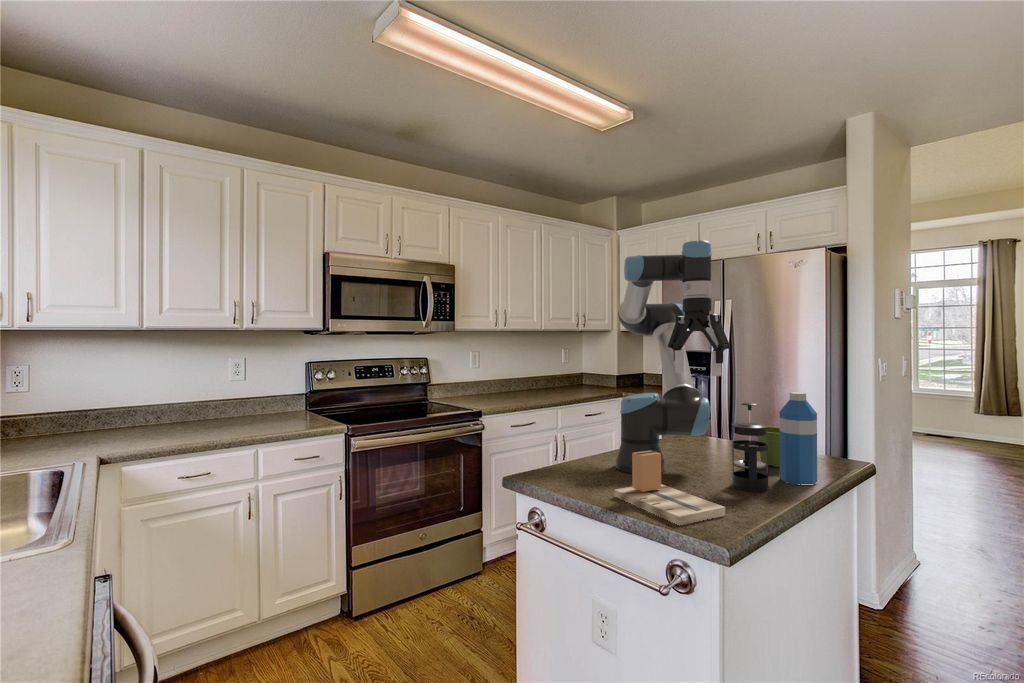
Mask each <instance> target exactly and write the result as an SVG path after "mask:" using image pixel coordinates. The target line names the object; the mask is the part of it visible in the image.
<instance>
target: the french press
mask: <svg viewBox="0 0 1024 683" xmlns="http://www.w3.org/2000/svg"><path fill="white" fill-rule="evenodd" d="M741 405H742V406H747V411H748V422H735V423H732V424H731V426H732V427H733V433H734V434H736V435H740V436H748V439H737V440H733V441H731V449H732V451H731V454H732V455H731V461H732V462H731V463H732V464H731V470H732V472H731V473H732V476H731V477H732V481H731V487H732V488H734V489H737V490H739V491H745V492H751V493H763V492H768V491H769V490H770V486H769V466H768V444H767V443H764V442H760V441H758V440H751V439H752V438H751V437H757V436H763V435H766V429H767V428H768V427H769V426H768V425H766V424H761V423H755V422H751V411H752V406H753V407H754V406H759V404H758V403H756V402H742V403H741ZM734 449H735V450H739V451H744V458H743V459H739V460H737V459H736V460H735V459H734V457H735V456H734V455H735V454H734ZM760 451H766V464H765V463H763V462H761V461H758V452H759V453H760ZM734 467H737V468H740V469H744V470H736V471H735V470H734ZM765 469H766V474H765V473H763V472H758V470H765Z"/></svg>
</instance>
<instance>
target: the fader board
mask: <svg viewBox="0 0 1024 683" xmlns="http://www.w3.org/2000/svg"><path fill="white" fill-rule="evenodd" d="M613 493H614V494H613V496H615V497H618V498H620V499H622V500H624V501H627V502H629V503H631V504H633V505H636V506H637V507H636V508H638V507H640V508H642V509H644V510H646V511H645V512H647V511H648V512H647V513H649V512H651V513H653V514H655V515H654V516H656V515H657V516H656V517H658V516H659V517H658V518H660V517H661V518H660V519H662V518H664V519H663V520H665V519H666V520H665V521H667V520H668V521H667V522H669V521H670V523H672V522H673V523H672V524H674V523H675V524H674V525H676V524H677V525H676V526H678V525H679V526H678V527H680V525H681V526H685V525H689V524H694V522H695V523H699V522H703V520H704V521H708V520H713V519H717V518H722V517H726V506H723V505H721V504H717V503H715V502H712V501H709V500H706V499H703V498H700V497H698V496H695V495H692V494H689V493H687V492H684V491H682V490H679V489H675V488H673V487H670V486H668V485H665V484H662V483H661V489H656V490H650V491H645V492H642V491H639V490H637V489H634V488H632V486H626V487H621V488H615V489H614V490H613ZM615 497H614V498H615ZM620 499H619V500H620ZM622 500H621V501H622ZM624 501H623V502H624ZM629 503H628V504H629ZM631 504H630V505H631ZM633 505H632V506H633ZM640 508H639V509H640ZM642 509H641V510H642ZM644 510H643V511H644ZM651 513H650V514H651ZM653 514H652V515H653ZM712 518H713V519H712ZM707 519H708V520H707Z"/></svg>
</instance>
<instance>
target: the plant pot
mask: <svg viewBox="0 0 1024 683" xmlns="http://www.w3.org/2000/svg"><path fill="white" fill-rule="evenodd" d="M756 438H757V441H760V442H764V443H767V444H768V467H769V466H771V467H774V468H780V426H779V427H778V426H768V428H767V429H766V435H763V436H756ZM759 457H760V462H763V463H765V464H766V451H760V452H759Z"/></svg>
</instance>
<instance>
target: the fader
mask: <svg viewBox="0 0 1024 683" xmlns="http://www.w3.org/2000/svg"><path fill="white" fill-rule="evenodd" d="M631 474H632V475H631V476H632V479H631V480H632V485H631V487H632V488H634V489H637V490H639V491H642V492H645V491H650V490H656V489H661V484H662V472H661V453H658V452H657V451H651V450H650V451H642V452H634V453H632V473H631Z"/></svg>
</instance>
